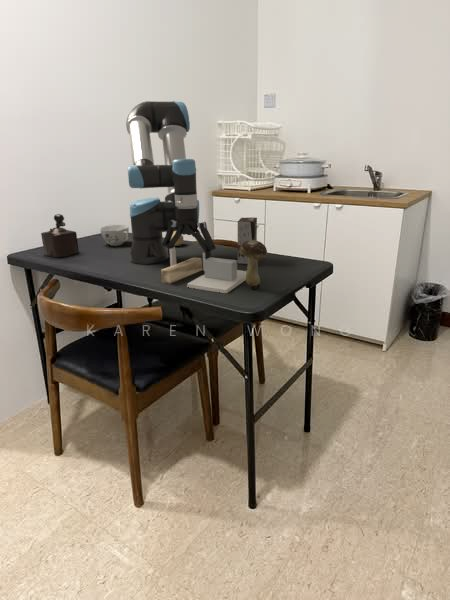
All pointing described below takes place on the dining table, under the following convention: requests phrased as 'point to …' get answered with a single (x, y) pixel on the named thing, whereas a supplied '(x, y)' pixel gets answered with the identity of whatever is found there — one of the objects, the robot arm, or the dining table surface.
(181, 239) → the onion
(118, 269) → the dining table surface
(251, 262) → the mushroom
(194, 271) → the beech bar
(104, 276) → the dining table surface
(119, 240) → the teacup
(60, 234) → the brown coffee grinder
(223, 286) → the fulcrum
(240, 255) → the coffee box
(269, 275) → the dining table surface
